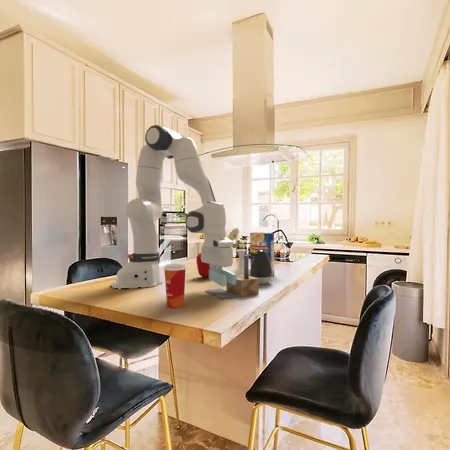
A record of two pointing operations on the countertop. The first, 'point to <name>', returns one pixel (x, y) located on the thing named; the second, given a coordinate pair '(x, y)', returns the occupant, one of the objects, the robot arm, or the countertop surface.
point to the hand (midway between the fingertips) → (216, 275)
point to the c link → (222, 277)
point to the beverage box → (262, 246)
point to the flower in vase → (240, 267)
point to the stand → (244, 282)
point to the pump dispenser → (261, 267)
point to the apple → (202, 267)
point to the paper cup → (175, 284)
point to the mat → (221, 293)
